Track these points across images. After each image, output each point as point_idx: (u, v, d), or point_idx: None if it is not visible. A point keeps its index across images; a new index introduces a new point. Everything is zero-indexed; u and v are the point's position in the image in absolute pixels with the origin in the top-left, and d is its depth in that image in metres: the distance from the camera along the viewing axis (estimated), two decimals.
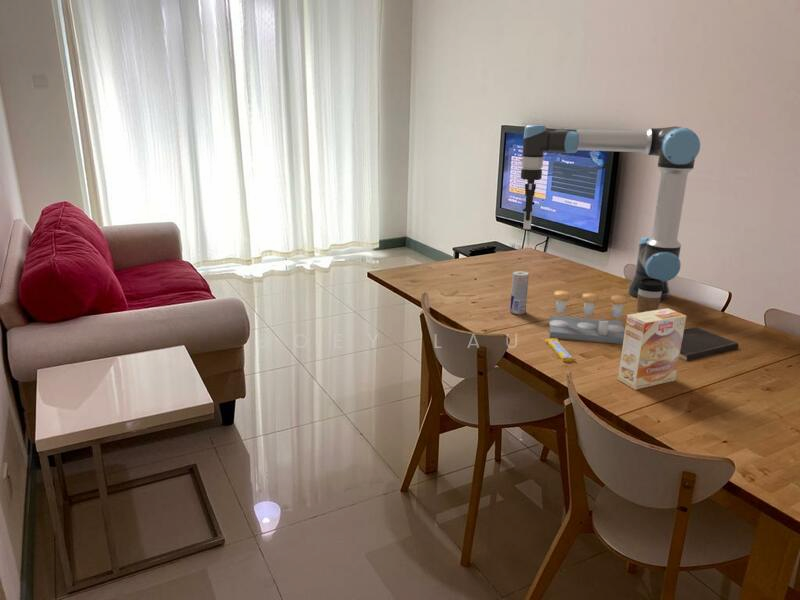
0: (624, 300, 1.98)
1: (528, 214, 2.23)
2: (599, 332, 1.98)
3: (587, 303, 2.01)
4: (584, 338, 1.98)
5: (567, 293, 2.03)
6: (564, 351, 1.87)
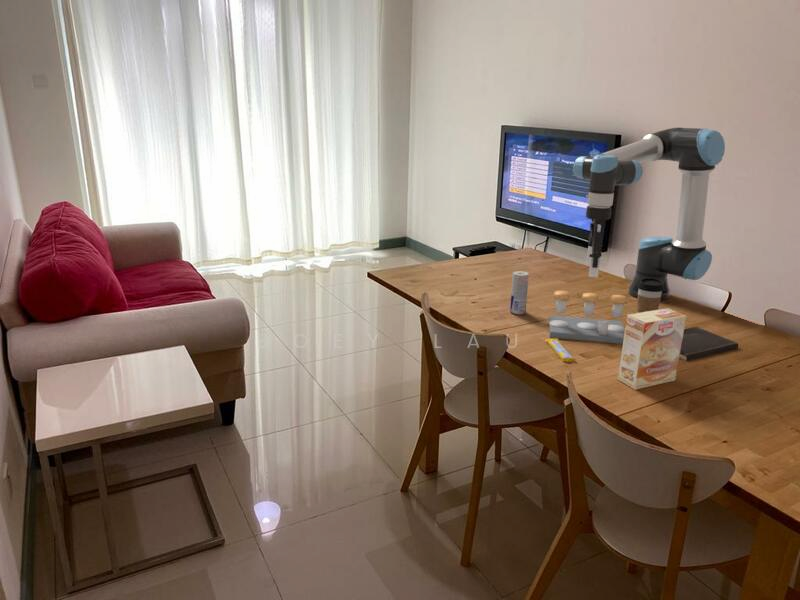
0: (624, 300, 1.98)
1: (596, 260, 1.90)
2: (599, 332, 1.98)
3: (587, 303, 2.01)
4: (584, 338, 1.98)
5: (567, 293, 2.03)
6: (564, 351, 1.87)
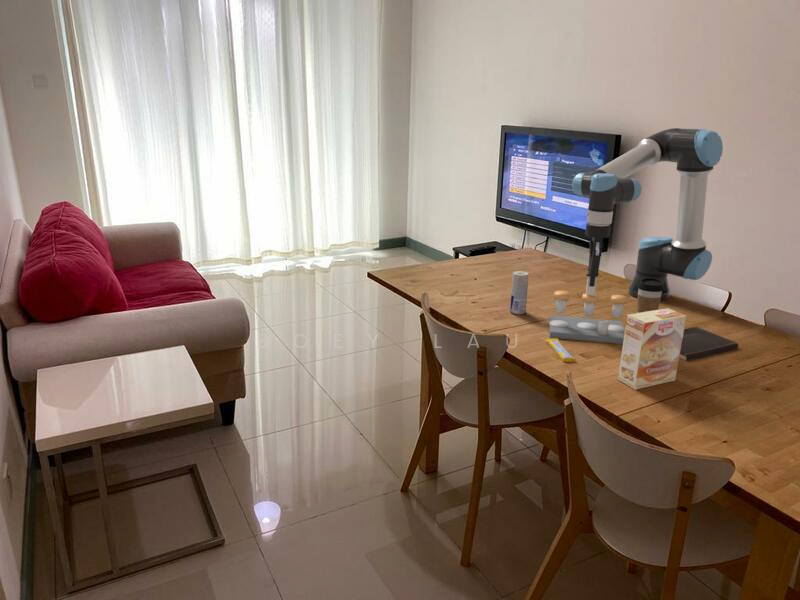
0: (624, 300, 1.98)
1: (593, 279, 1.98)
2: (599, 332, 1.97)
3: (587, 304, 2.01)
4: (584, 338, 1.98)
5: (567, 293, 2.03)
6: (564, 351, 1.86)
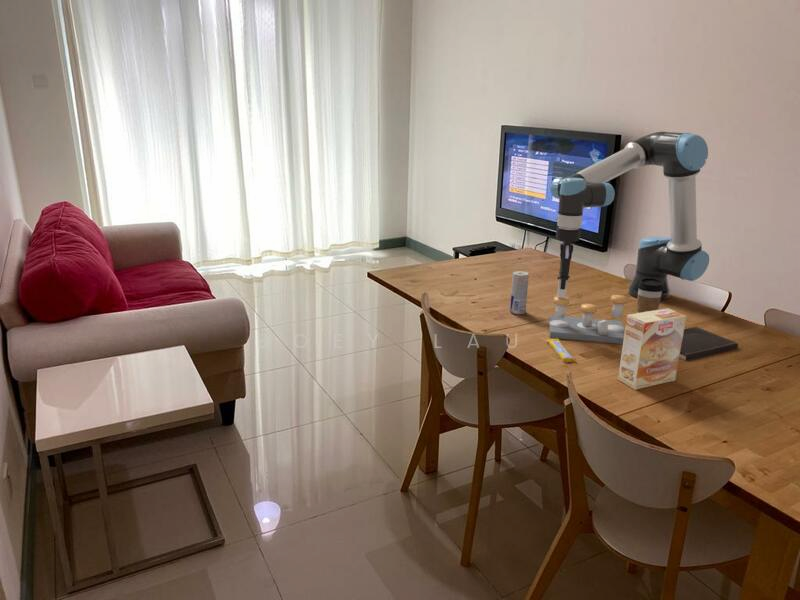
0: (624, 300, 1.98)
1: (563, 282, 2.00)
2: (601, 332, 1.97)
3: (586, 314, 2.02)
4: (584, 338, 1.98)
5: (566, 298, 2.03)
6: (565, 351, 1.86)
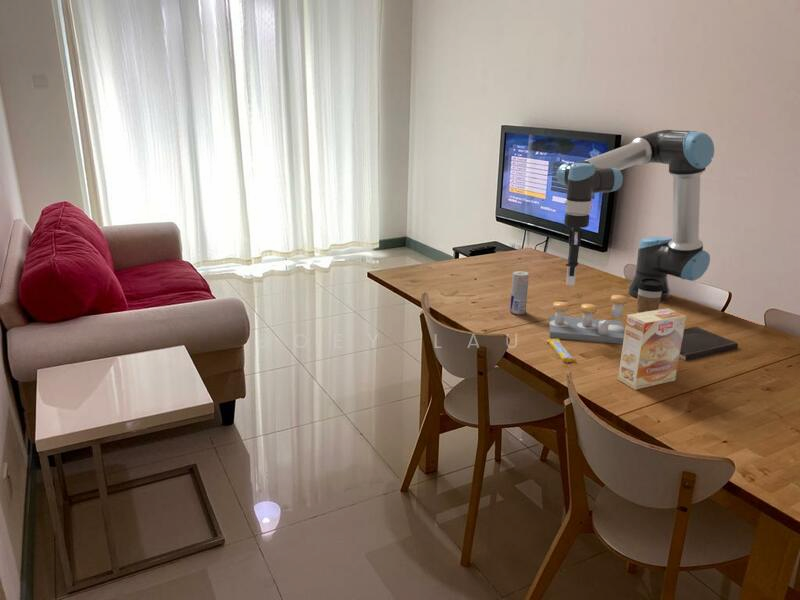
0: (624, 300, 1.98)
1: (572, 269, 1.98)
2: (602, 333, 1.97)
3: (586, 314, 2.02)
4: (584, 338, 1.98)
5: (566, 304, 2.04)
6: (565, 351, 1.86)
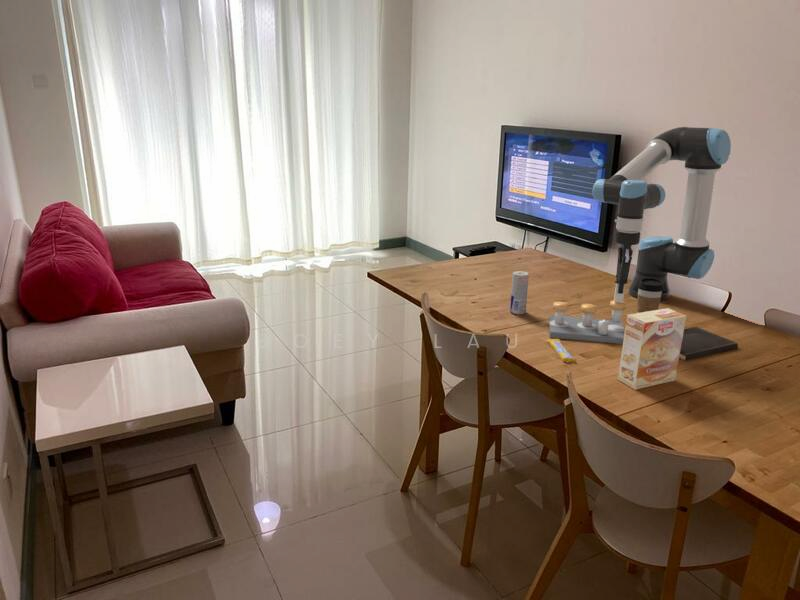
0: (623, 305, 1.98)
1: (621, 286, 1.96)
2: (604, 332, 1.97)
3: (586, 314, 2.02)
4: (584, 338, 1.98)
5: (566, 304, 2.04)
6: (565, 352, 1.86)
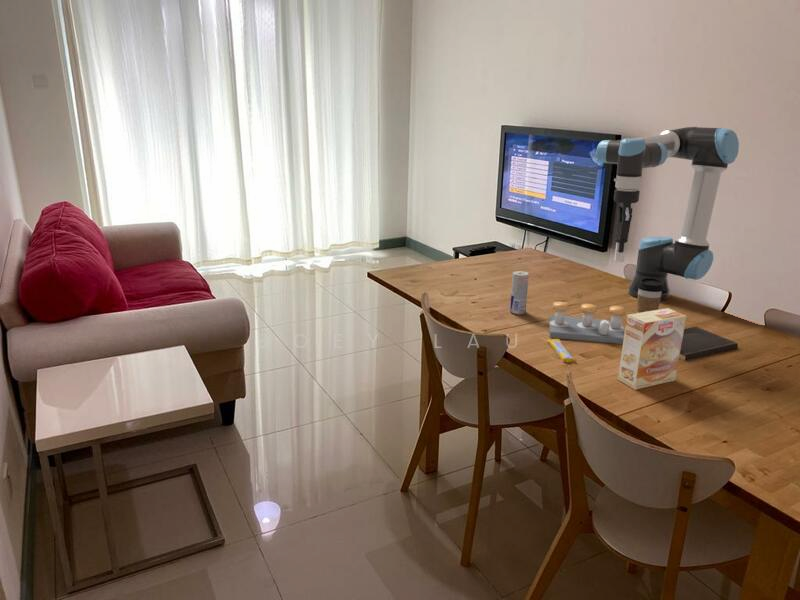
0: (622, 311, 1.99)
1: (622, 245, 1.98)
2: (607, 333, 1.97)
3: (586, 314, 2.02)
4: (584, 338, 1.98)
5: (566, 304, 2.04)
6: (565, 352, 1.86)
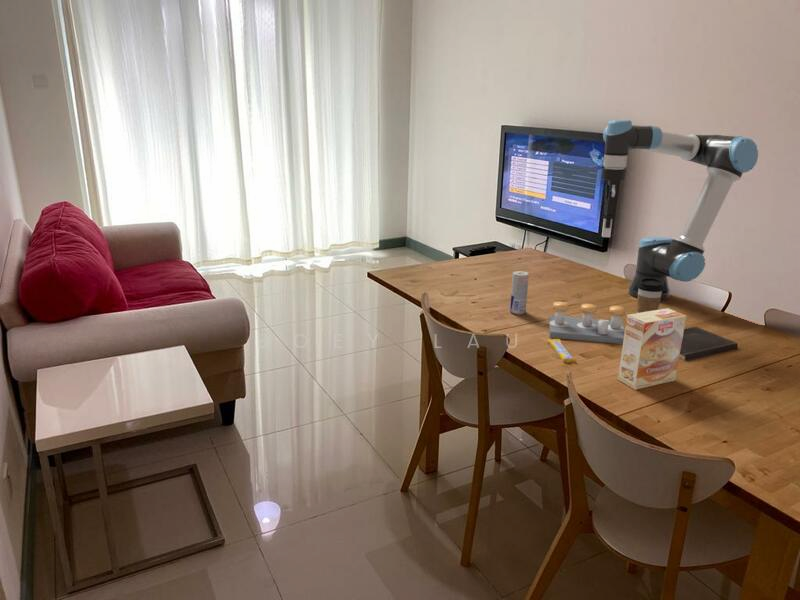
0: (622, 311, 1.99)
1: (609, 221, 2.10)
2: (607, 331, 1.98)
3: (586, 314, 2.02)
4: (584, 338, 1.98)
5: (566, 304, 2.04)
6: (565, 352, 1.86)
